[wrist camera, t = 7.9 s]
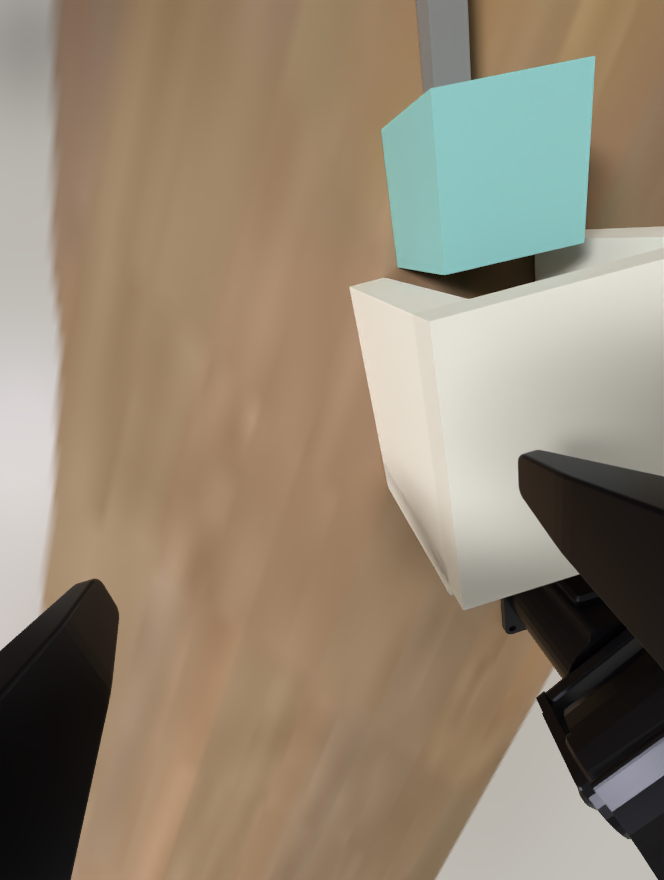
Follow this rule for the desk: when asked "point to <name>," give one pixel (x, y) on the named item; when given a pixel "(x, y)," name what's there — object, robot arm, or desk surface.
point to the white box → (514, 399)
